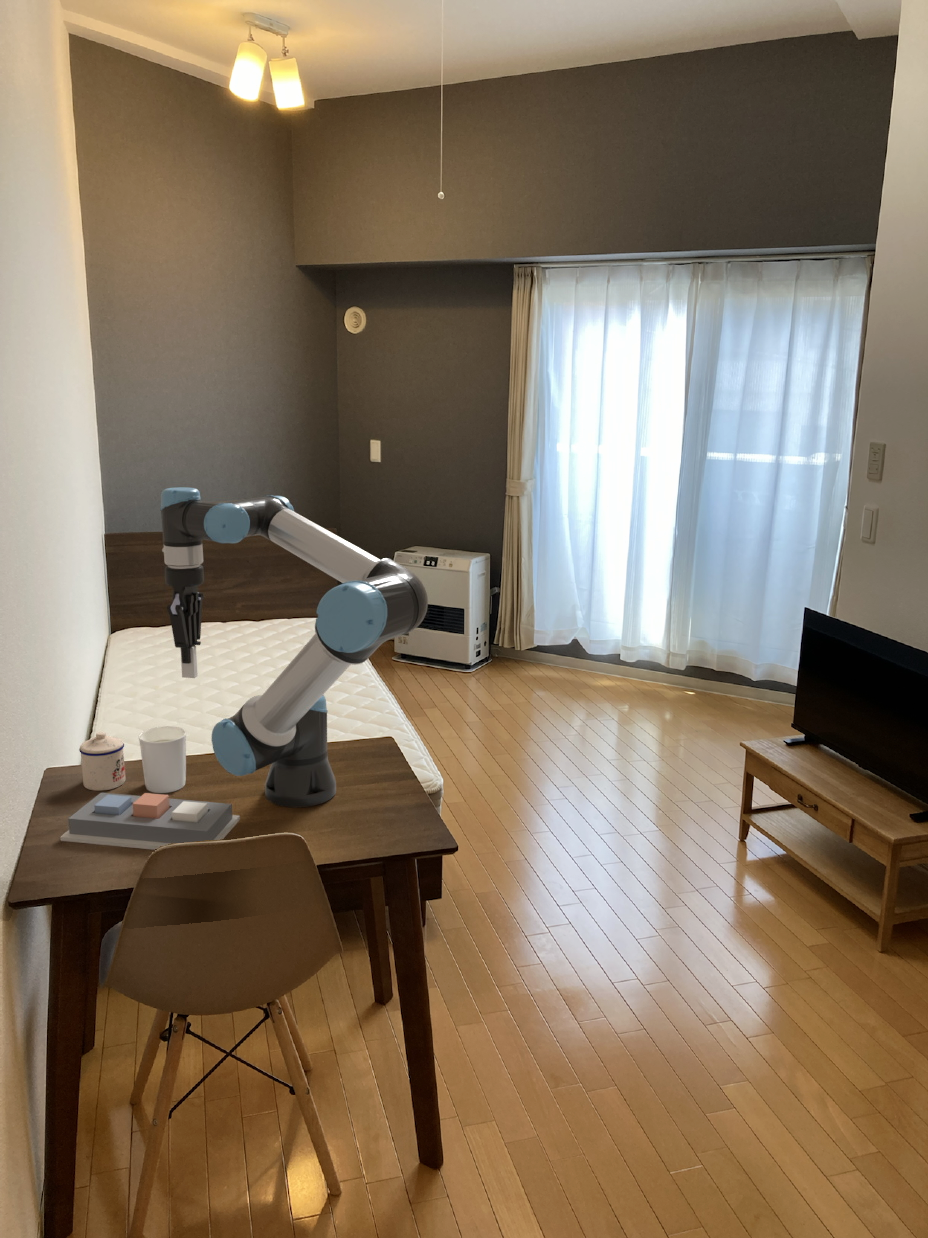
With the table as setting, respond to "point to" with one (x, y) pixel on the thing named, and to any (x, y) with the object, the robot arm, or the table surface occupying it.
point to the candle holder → (164, 758)
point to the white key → (190, 811)
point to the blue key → (113, 805)
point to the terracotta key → (151, 805)
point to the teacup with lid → (102, 762)
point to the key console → (147, 826)
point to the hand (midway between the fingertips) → (189, 676)
